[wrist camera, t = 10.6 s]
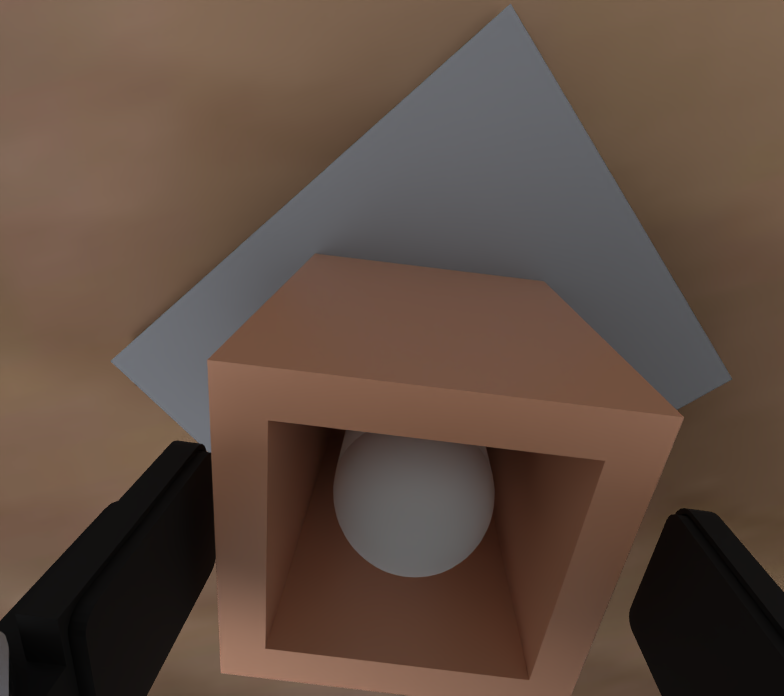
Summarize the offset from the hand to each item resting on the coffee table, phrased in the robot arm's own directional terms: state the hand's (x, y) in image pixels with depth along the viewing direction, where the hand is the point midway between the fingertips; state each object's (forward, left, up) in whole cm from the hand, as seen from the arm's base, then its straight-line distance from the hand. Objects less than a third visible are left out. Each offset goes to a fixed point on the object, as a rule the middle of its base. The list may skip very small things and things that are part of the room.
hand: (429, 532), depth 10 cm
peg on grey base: (+1, 0, -8) cm, 8 cm away
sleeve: (+1, 0, -7) cm, 7 cm away
